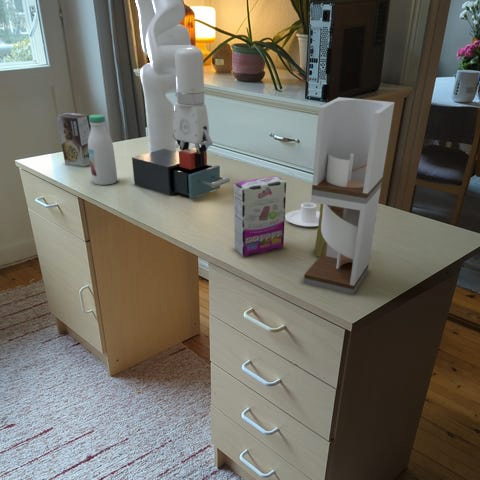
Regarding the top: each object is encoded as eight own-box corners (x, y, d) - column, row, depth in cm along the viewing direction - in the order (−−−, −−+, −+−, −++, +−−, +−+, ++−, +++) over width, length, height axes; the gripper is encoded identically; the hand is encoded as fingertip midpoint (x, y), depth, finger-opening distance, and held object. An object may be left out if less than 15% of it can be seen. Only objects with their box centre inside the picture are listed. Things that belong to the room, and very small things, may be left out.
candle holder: (277, 215, 142) (278, 200, 140) (315, 209, 146) (316, 194, 144) (298, 231, 133) (299, 215, 130) (338, 225, 137) (340, 209, 134)
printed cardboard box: (96, 162, 183) (90, 114, 175) (84, 167, 178) (77, 118, 170) (76, 159, 187) (68, 112, 178) (64, 163, 182) (55, 115, 173)
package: (179, 166, 152) (178, 151, 149) (195, 161, 156) (195, 146, 154) (190, 169, 149) (190, 154, 147) (207, 164, 154) (206, 149, 152)
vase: (311, 248, 124) (317, 190, 116) (337, 248, 125) (343, 190, 117) (317, 259, 119) (323, 200, 111) (343, 259, 119) (351, 199, 112)
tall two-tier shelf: (321, 261, 118) (338, 97, 99) (367, 271, 114) (394, 102, 95) (303, 282, 110) (319, 107, 91) (352, 294, 106) (379, 113, 87)
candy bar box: (273, 241, 128) (276, 175, 119) (284, 248, 124) (288, 181, 115) (232, 249, 123) (232, 181, 114) (242, 257, 120) (243, 188, 111)
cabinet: (200, 184, 164) (199, 157, 159) (169, 195, 155) (167, 167, 150) (165, 175, 172) (163, 148, 167) (134, 185, 163) (131, 157, 158)
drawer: (235, 192, 155) (235, 169, 151) (208, 203, 147) (207, 180, 143) (185, 178, 166) (184, 157, 162) (157, 188, 158) (155, 165, 154)
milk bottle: (120, 178, 168) (113, 113, 158) (113, 186, 162) (105, 118, 151) (97, 177, 169) (88, 112, 158) (89, 185, 163) (79, 118, 152)
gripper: (159, 96, 145) (163, 162, 155) (204, 104, 136) (206, 173, 146) (178, 93, 150) (181, 157, 160) (222, 100, 141) (223, 167, 151)
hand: (193, 164), depth 153 cm, fingers closed on package, 4 cm apart
